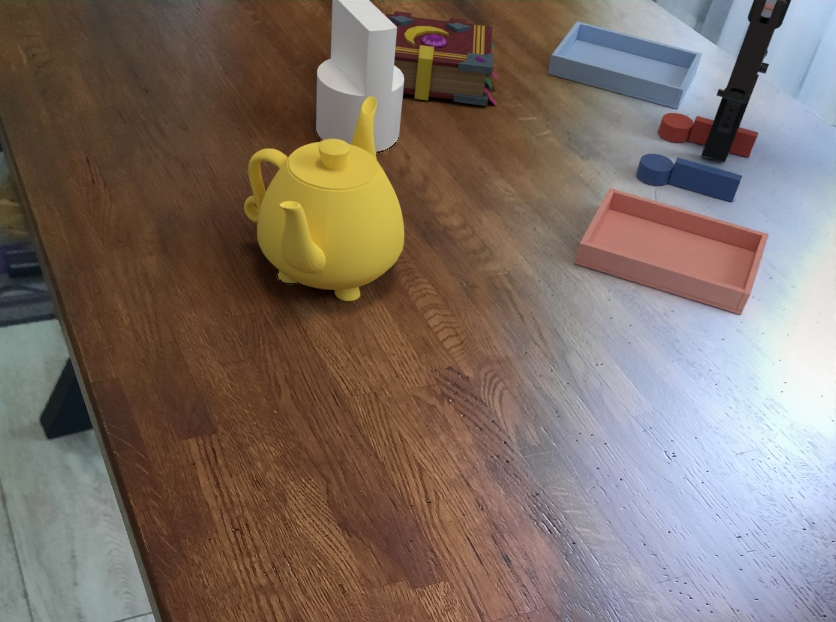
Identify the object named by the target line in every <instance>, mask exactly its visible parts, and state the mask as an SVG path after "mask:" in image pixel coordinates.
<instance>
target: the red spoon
mask: <svg viewBox="0 0 836 622" xmlns="http://www.w3.org/2000/svg"><path fill="white" fill-rule="evenodd" d="M713 121H714V119H711V118H708V117H703V116H700V115H696V116H695V119H694V120H693V119H692V118H691V117H690V116H688V115H686V114H683V113H679V112H667V113H665V114H663V115H662V116H661V120H660V123H659V126H658V129H657V134H658V136H659V137H660V138H662V139H663V140H665V141H667V142H668V141H669V142H671V143H678V144H679V143H685V142H687V141H688V142H689V143H690V142H691V143H693V144H698V145H701V146H705V144H706V141H707V138H708V135H709V133H710V130H711V127H712V124H713ZM758 135H759V132H758V131H755V130H751V129H747V128H744V127H740V126H739V127H738V130H737V133H736V135H735V138H734V141H733V143H732V146H731V148H730V151H729V153H730V154H733V155H737V156H740V157H745V158H750V155H751V153H752V151H753V148H754V145H755V143H756V141H757V139H758Z"/></svg>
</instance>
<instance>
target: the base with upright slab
mask: <svg viewBox="0 0 836 622" xmlns="http://www.w3.org/2000/svg"><path fill="white" fill-rule="evenodd" d="M331 1H332V3H331V5H332V6H331V36H330V38H331V39H330V41H331V42H330V58H329V59H326V60H325V61H323V62H322V63H321V64H319V65H318V68H317V69H316V106H315V107H316V108H315V109H316V111H315V112H316V113H315V114H316V117H315V124H316V125H315V132H316V131H317V133H318V134H319V136H320V137H321V138H322V139H323V140H325V139H339V140H343V141H345V142H347V143H348V144H350V145H351V142H352V138H353V135H354V132H355V128H356V124H357V121H358V117H359V113H360V109H361V106H362V104H363V102H364V101H365V100H366V99H367V98H368V97H370V96H374V97H375V98H376V100H377V107H376V112H375V117H374V143H375V152H377V151H381V150H385V149H387V148H389V147H390V146H392V145H393V144H394V143H395V142H397V143H398V141H399V139H398V137H399V138H400V129H401V120H402V109H403V100H404V99H403V97H404V93H403V87H404V76H403V73H402V72H401V71H400V69H399V68H397V67H396V66H395V65H394V59H395V46H396V34H397V27H396V26H395V25H394V24H393V23H392V22H391V21H390V20H389V19H388V18H387V17H386V16H385V15H384V14H385V13H384V12H382V11H381V10H380V9H379V8H378V7H377V6H376V5H374V3H373V2H371V0H331ZM397 140H398V141H397Z"/></svg>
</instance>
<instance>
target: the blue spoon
mask: <svg viewBox="0 0 836 622" xmlns="http://www.w3.org/2000/svg"><path fill="white" fill-rule="evenodd" d="M635 175H636V177H637V178H638V180H639V181H641V182H643V183H645V184H647V185H650V186H664V185H667V184H668V185H671V186H674V187H678V188H681V189H685V190H689V191H691V192H695V193H698V194H701V195H706V196H709V197H712V198H717V199H720V200H723V201H727V202H731V203H733V201H734V199H735V196H736V194H737V192H738V189H739V186H740V184H741V182H742V179H743V175H742V174H738V173H736V172H731V171H727V170H724V169H722V168H721V169H720V168H717V167H715V166H714V167H713V166H710V165H707V164H703V163H700V162H696V161H692V160H688V159H686V158H681V157H679V156H678V157H676V160H675V162H673V160H672V159H671V158H669V157H667V156H665V155H663V154H659V153H646V154H643V155H642V156H641V157H640V159H639V162H638V166H637V169H636V173H635Z"/></svg>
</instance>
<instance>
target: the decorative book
mask: <svg viewBox="0 0 836 622" xmlns="http://www.w3.org/2000/svg"><path fill="white" fill-rule="evenodd" d="M383 14H384V15H385V16H386V17H387V18H388V19H389V20H390V21H391V22H392V23H393V24H394V25H395V26H396V27H397V34H396V46H395V59H394V65H395V66H396V67H397V68H399V69H400V71H401V72H402V73H403V76H404V87H403V95H412V96H414V98H413V99H415V100H422V101H429V97H430V98H438V99H446V100H452V101H453V102H454V103H462V104H469V105H476V106H477V105H478V106H484V107H485V106H486V107H488V100H490V102H492V104H493V105H494V106H495V107H497V100H496V99H495V97H493V96H492V94H491V92H490V91H489V87H490V90H493V83H492V82H491V80H490V78H489V77H488V75H492V77H493V78H494V80H496V81H497V82H499V75H498V74H497V73H496V72H495V71H494V52H493V51H495V45H494V42H493V26H488V25H480V24H471V23H468V19H463V18H454V17H450V18H449V20H447V21H446V20H440V19H432V18H422V17H416V16H412V15H413V14H412V12H405V11H398V10H394V11H393V14H390V13H383Z"/></svg>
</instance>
